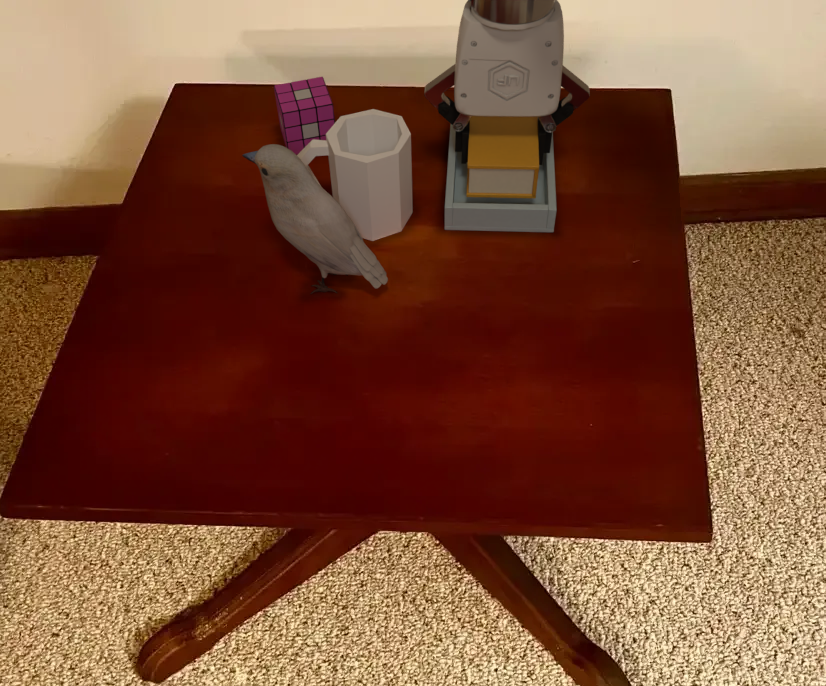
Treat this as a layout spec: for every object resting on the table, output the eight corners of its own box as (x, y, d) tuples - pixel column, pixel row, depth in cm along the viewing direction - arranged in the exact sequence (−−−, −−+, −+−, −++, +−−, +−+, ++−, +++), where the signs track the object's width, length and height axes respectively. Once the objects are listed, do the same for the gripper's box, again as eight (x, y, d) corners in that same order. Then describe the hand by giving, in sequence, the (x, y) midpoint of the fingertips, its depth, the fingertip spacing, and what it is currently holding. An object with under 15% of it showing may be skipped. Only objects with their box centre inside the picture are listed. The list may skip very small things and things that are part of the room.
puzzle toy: (280, 127, 103) (273, 84, 98) (327, 118, 103) (322, 75, 99) (288, 156, 99) (281, 113, 95) (337, 147, 100) (333, 103, 95)
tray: (548, 133, 99) (551, 110, 97) (553, 232, 89) (556, 210, 86) (451, 132, 100) (451, 109, 98) (444, 230, 90) (444, 207, 88)
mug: (414, 187, 94) (412, 108, 87) (410, 241, 89) (408, 163, 81) (304, 186, 96) (293, 109, 88) (294, 240, 90) (281, 162, 83)
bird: (275, 248, 90) (252, 123, 78) (397, 279, 86) (391, 154, 74) (253, 279, 87) (225, 156, 75) (378, 314, 83) (368, 189, 71)
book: (535, 198, 88) (539, 166, 85) (466, 197, 89) (467, 165, 86) (533, 127, 96) (536, 95, 93) (469, 126, 97) (470, 95, 94)
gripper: (413, 15, 77) (417, 177, 91) (615, 15, 75) (587, 180, 89) (419, -27, 81) (421, 133, 95) (609, -28, 80) (583, 135, 93)
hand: (501, 155), depth 92 cm, fingers closed on book, 7 cm apart
